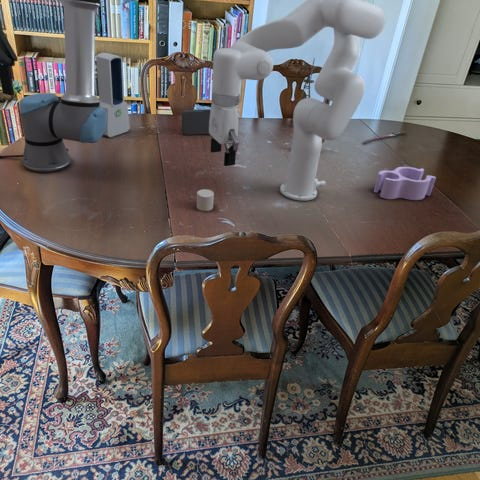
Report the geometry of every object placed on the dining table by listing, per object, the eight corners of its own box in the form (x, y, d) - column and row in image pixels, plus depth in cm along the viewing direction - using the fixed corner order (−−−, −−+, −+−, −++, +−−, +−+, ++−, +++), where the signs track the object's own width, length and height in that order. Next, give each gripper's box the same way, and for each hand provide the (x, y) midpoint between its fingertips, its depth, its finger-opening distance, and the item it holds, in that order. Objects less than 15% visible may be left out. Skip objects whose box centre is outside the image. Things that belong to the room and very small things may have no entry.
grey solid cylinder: (209, 202, 148) (210, 188, 145) (215, 209, 144) (216, 195, 141) (194, 204, 145) (194, 190, 143) (200, 212, 142) (200, 197, 139)
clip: (387, 202, 158) (392, 184, 155) (367, 186, 168) (372, 168, 164) (434, 198, 165) (441, 180, 161) (413, 182, 174) (419, 165, 171)
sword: (401, 132, 223) (402, 129, 222) (407, 134, 221) (407, 131, 220) (358, 143, 207) (358, 140, 206) (363, 145, 205) (364, 143, 204)
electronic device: (108, 138, 183) (103, 58, 167) (94, 133, 186) (88, 54, 170) (130, 130, 192) (127, 54, 176) (117, 126, 195) (113, 50, 179)
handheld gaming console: (232, 131, 203) (234, 108, 197) (234, 133, 201) (236, 110, 195) (181, 132, 196) (181, 109, 190) (182, 135, 194) (183, 111, 188)
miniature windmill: (308, 129, 214) (320, 61, 198) (290, 126, 215) (300, 58, 199) (310, 123, 222) (321, 57, 206) (292, 120, 223) (302, 54, 207)
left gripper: (-78, 3, 83) (-49, 119, 94) (24, -5, 103) (38, 91, 114) (-109, -3, 85) (-77, 112, 96) (-3, -10, 105) (13, 86, 116)
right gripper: (200, 90, 129) (199, 148, 138) (226, 110, 116) (222, 172, 126) (225, 88, 132) (222, 145, 141) (252, 108, 119) (247, 169, 129)
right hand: (222, 158), depth 133 cm, fingers open, 9 cm apart
